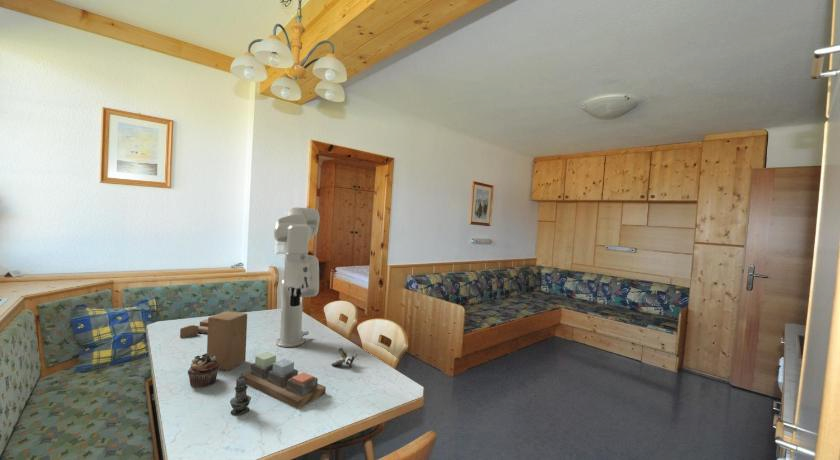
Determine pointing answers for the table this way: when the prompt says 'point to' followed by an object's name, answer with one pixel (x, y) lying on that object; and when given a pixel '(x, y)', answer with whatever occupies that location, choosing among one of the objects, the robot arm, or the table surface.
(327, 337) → the table surface
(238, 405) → the grey tall stone piece
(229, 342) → the wooden block
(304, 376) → the red key
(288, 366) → the slate key
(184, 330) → the wooden block set
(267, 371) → the console
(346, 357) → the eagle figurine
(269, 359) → the sage key
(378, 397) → the table surface
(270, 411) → the table surface
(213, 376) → the cupcake
